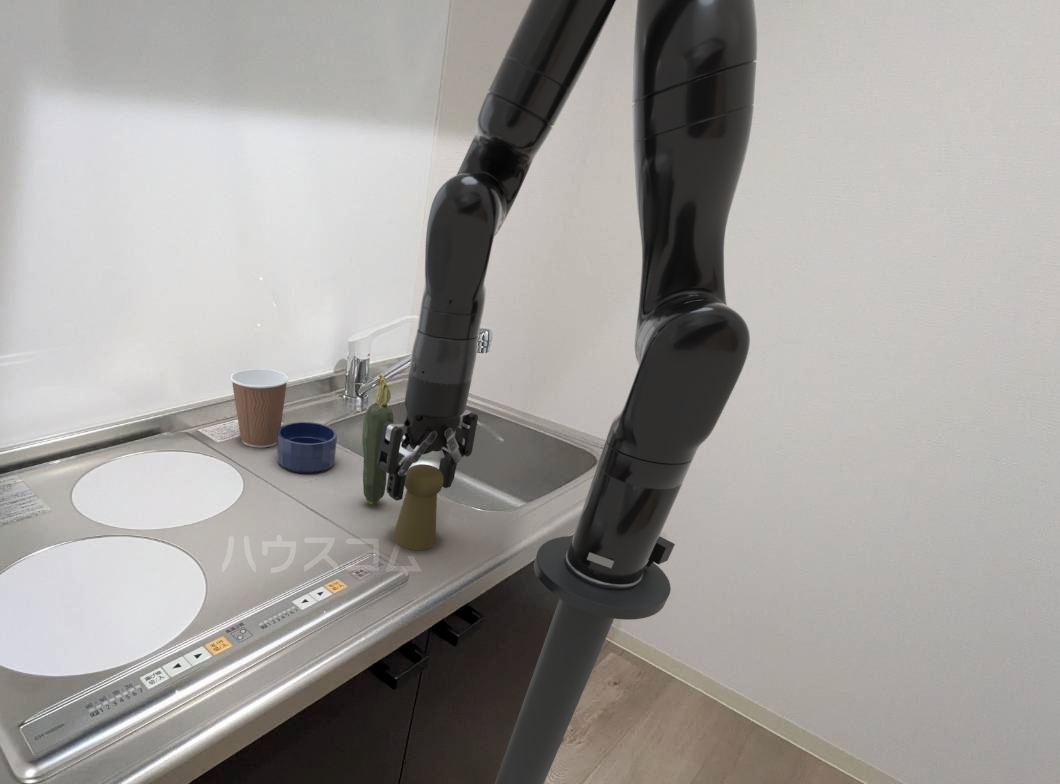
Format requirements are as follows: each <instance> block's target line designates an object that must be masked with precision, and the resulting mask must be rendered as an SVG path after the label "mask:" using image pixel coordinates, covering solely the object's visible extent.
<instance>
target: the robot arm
mask: <svg viewBox="0 0 1060 784" xmlns="http://www.w3.org/2000/svg"><path fill="white" fill-rule="evenodd" d="M636 1H637V2H636V14H635V26H634V41H633V64H632V65H633V67H632V70H633V72H632V73H633V75H632V103H633V104H632V146H633V147H632V149H633V164H634V178H635V179H634V183H635V196H636V206H637V207H636V208H637V216H638V224H639V225H638V226H639V232H640V240H641V241H640V243H641V274H640V275H641V276H640V286H639V298H638V309H637V318H636V327H635V333H634V334H635V335H634V336H635V338H634V354H635V359H636V361H637V363H638V367H637V371H636V374H635V377H634V379H633V382H632V385H631V387H630V390H629V393H628V395H627V398H626V401H625V403H624V406H623V408H622V410H621V412H620V413H619V414H617V415H616V416H615V417H614V418H613V420H612V422H611V425H610V428H609V430H608V433H607V436H606V439H605V442H604V446H603V448H602V452H601V455H600V457H599V459H598V463H597V466H596V469H595V472H594V475H593V478H592V480H591V483H590V487H589V490H588V493H587V496H586V499H585V501H584V504H583V507H582V510H581V512H580V515H579V518H578V522H577V524H576V527H575V530H574V532H573V535H572V536H573V538H572V541H571V544H570V547H569V550H568V551H567V553H566V556H565V565H566V567H567V569H568V570H569V571H570V572H571V573H572V574H573V575H574V576H576V577H577V578H579V579H580V580H582V581H584V582H586V583H588V584H591V585H593V586H596V587H599V588H603V589H608V590H629V589H632V588H635V587H636V586H638V585H639V583H640V581H641V579H642V576H643V572H644V570H645V567H646V566H647V567H650V565H651V564H652V563H655V564H656V565H657V566H659V565H661V564H663V563H665V562H668V561H669V558H670V556H671V554H672V552H673V550H674V547H675V545H676V543H674V542H672V541H670V540H668V539H666V538H664V537H662V536H661V533H662V531H663V529H664V528H665V524H666V522H667V520H668V518H669V515H670V514H671V511H672V509H673V506H674V505H675V502H676V499H677V497H678V495H679V493H680V490H681V488H682V486H683V483H684V481H685V479H686V476H687V474H688V472H689V469H690V467H691V465H692V463H693V460H694V458H695V456H696V454H697V451H698V449H699V447H700V446H701V445H702V444H704V442H706V440H707V439H708V438H709V437H710V435H711V434H712V433H713V431H714V429H715V427H716V425H717V423H718V421H719V419H720V418H721V415H722V413H723V411H724V409H725V407H726V405H727V403H728V402H729V399H730V397H731V396H732V394H733V391H734V389H735V387H736V385H737V383H738V380H739V378H740V376H741V373H742V372H743V369H744V367H745V364H746V361H747V358H748V355H749V350H750V343H751V335H750V329H749V327H748V325H747V321H745V319H744V318H743V316H741V315H740V314H739V313H738V312H737V311H736V310H734V309H733V308H731V306H729V305H728V303H727V296H726V283H725V239H726V238H725V237H726V232H727V231H726V230H727V225H728V219H729V216H730V212H731V209H732V204H733V201H734V198H735V194H736V191H737V188H738V185H739V181H740V177H741V174H742V171H743V167H744V163H745V159H746V156H747V152H748V147H749V143H750V137H751V133H752V126H753V118H754V109H755V108H754V107H755V106H754V105H755V90H756V89H755V88H756V74H757V59H758V28H757V27H758V25H757V15H756V14H757V13H756V6H755V0H636ZM616 2H617V0H530V1H529V3H528V6H527V8H526V10H525V12H524V14H523V16H522V17H521V20H520V22H519V24H518V26H517V28H516V30H515V32H514V35H513V37H512V38H511V41H510V43H509V45H508V48H507V49H506V52H505V53H504V56H503V58H502V60H501V62H500V64H499V67H498V69H497V71H496V73H495V75H494V77H493V79H492V81H491V84H490V85H489V88H488V92H486V95H485V97H484V98H483V101H482V104H481V107H480V109H479V112H478V115H477V119H476V124H475V125H476V127H475V134H474V136H473V139H472V140H471V142H470V145H469V147H468V149H467V152H466V154H465V156H464V158H463V160H462V162H461V165H460V167H459V168H458V171H457V173H456V174H455V175H454V176H452V177H450V178H449V179H448V180H446V181H445V182H444V183H443V184H442V185H441V186H440V187H439V189H438V190H437V192H436V194H435V195H434V197H433V199H432V202H431V205H430V208H429V213H428V218H427V225H426V233H425V250H424V251H425V252H424V287H423V292H422V296H421V302H420V309H419V317H418V323H417V330H416V334H415V338H414V342H413V345H412V349H411V354H410V355H411V356H410V363H409V370H408V376H407V382H406V383H407V384H406V390H405V397H404V406H405V409H406V415H405V418H404V419H403V422H402V423H395V424H394V423H393V424H392V423H390V422H386V423H385V424H384V425H383V429H382V435H381V441H380V447H379V452H378V458H377V466H378V467H380V468H381V469H383V470H384V471H386V473H387V474H388V476H387V481H386V488H385V491H386V494H387V495H388V496H389V497H390V498H391V499H393V500H395V501H401V500H403V499H404V498H403V497H404V491H405V479H406V475H405V474H406V472H407V470H408V469H409V468H410V467H412V466H413V465H412V464H414V463H417V462H419V460H420V458H421V457H422V456H423V455H427V454H430V453H431V452H441V454H442V456H443V457H441V458H440V461H439V466H438V469H439V470H440V471H441V473H442V475H443V486H442V488H444V489H447V488H451V486H452V484H453V482H454V480H455V475H456V471H457V465H458V463H459V462H461V460H462V458H464V457H467V458H468V457H470V456H471V454H472V453H473V449H474V443H475V438H476V437H475V436H476V431H477V425H478V420H479V415H478V414H476V413H474V412H473V411H471V410H469V409H467V404H468V399H469V395H470V394H469V393H470V389H471V385H472V379H473V374H474V370H475V365H476V361H477V353H478V341H479V340H478V339H479V334H480V329H481V324H482V320H483V314H484V309H485V304H486V296H487V295H486V293H487V291H486V290H487V289H486V285H485V281H486V276H487V271H488V268H489V262H490V257H491V254H492V248H493V244H494V240H495V237H496V236H497V234H498V233H499V231H500V230H501V228H502V227H503V224H504V223H505V221H506V219H507V217H508V216H509V214H510V211H511V209H512V207H513V205H514V203H515V201H516V199H517V197H518V195H519V193H520V191H521V188H522V187H523V184H524V181H525V180H526V177H527V175H528V173H529V171H530V168H531V166H532V163H533V161H534V160H535V157H536V156H537V154H538V152H539V151H540V149H542V146H543V145H544V143H545V142H546V140H547V138H548V137H549V135H550V133H551V131H552V130H553V127H554V126H555V124H556V122H557V121H558V118H559V117H560V115H561V114H562V112H563V109H564V108H565V106H566V104H567V102H568V100H569V98H570V97H571V94H572V93H573V91H574V89H575V87H576V85H577V83H578V81H579V79H580V78H581V75H582V73H583V71H584V70H585V68H586V66H587V64H588V62H589V60H590V57H591V55H592V53H593V51H594V50H595V47H596V46H597V43H598V41H599V38H600V37H601V34H602V33H603V30H604V28H605V27H606V24H607V22H608V19H609V18H610V16H611V13H612V10H613V9H614V6H615V4H616ZM408 446H409V447H410V449H412V451H409V450H407V448H408ZM387 456H388V459H387ZM402 459H403V460H402ZM401 461H402V462H401Z"/></svg>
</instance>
